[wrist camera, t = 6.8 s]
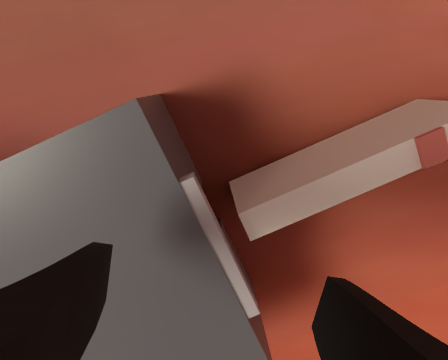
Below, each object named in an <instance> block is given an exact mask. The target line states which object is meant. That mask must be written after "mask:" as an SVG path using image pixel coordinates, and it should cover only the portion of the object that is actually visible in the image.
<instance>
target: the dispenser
mask: <svg viewBox="0 0 448 360" xmlns="http://www.w3.org/2000/svg"><path fill="white" fill-rule="evenodd" d="M92 242H98V243H105V244H112V245H113V249H112V257H111V265H110V273H109V281H108V289H107V297H106V302H105V305H104V308H103V311H102V313H101V316H100V319H99V322H98V324H97V327H96V330H95V332H94V334H93V336H92V338H91V340H90V342H89V344H88V346H87V348H86V350H85V352H84V354H83V356H82V357H81V359H80V360H272V358H271V354H270V350H269V346H268V342H267V338H266V334H265V330H264V326H263V322H262V318H261V315H260V311H259V307H258V303H257V299H256V295H255V291H254V288H253V286H252V284H251V282H250V279H249V277H248V275H247V273H246V271H245V269H244V267H243V265H242V263H241V261H240V259H239V257H238V255H237V252H236V250H235V248H234V246H233V244H232V242H231V240H230V238H229V236H228V234H227V232H226V230H225V228H224V225H223V223H222V221H221V220H218V221H217V219H216V217H215V215H214V212H213V210H212V208H211V206H210V204H209V202H208V200H207V198H206V196H205V194H204V192H203V190H202V180H201V178H200V176H199V174H198V172H197V169H196V167H195V165H194V163H193V161H192V159H191V157H190V155H189V153H188V151H187V149H186V147H185V145H184V142H183V140H182V138H181V136H180V134H179V132H178V130H177V128H176V126H175V124H174V122H173V120H172V118H171V115H170V113H169V111H168V109H167V107H166V105H165V103H164V101H163V99H162V97H161V95H160V94H157V95H152V96H147V97H141V98H136V99H134V100H132V101H130V102H127V103H125V104H123V105H121V106H119V107H117V108H114V109H112V110H110V111H108V112H106V113H104V114H102V115H99V116H97V117H95V118H93V119H91V120H89V121H86V122H84V123H82V124H80V125H78V126H76V127H73V128H71V129H69V130H67V131H65V132H63V133H61V134H58V135H56V136H54V137H52V138H50V139H48V140H45V141H43V142H41V143H39V144H37V145H35V146H32V147H30V148H28V149H26V150H24V151H22V152H20V153H17V154H15V155H13V156H11V157H9V158H7V159H4V160H2V161H0V289H1V288H3V287H6V286H8V285H10V284H13V283H15V282H17V281H19V280H21V279H23V278H25V277H28V276H30V275H32V274H34V273H36V272H38V271H40V270H42V269H44V268H46V267H48V266H50V265H52V264H54V263H56V262H57V261H59V260H61V259H63V258H65V257H67V256H68V255H70V254H72V253H74V252H75V251H77V250H79V249H81V248H83V247H84V246H86V245H88V244H90V243H92Z"/></svg>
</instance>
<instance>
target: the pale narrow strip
mask: <svg viewBox="0 0 448 360" xmlns="http://www.w3.org/2000/svg"><path fill="white" fill-rule="evenodd" d="M447 160H448V101H442V100H426V99H416V100H414V101H411V102H409V103H407V104H404V105H402V106H400V107H398V108H395V109H393V110H391V111H389V112H386V113H384V114H382V115H379V116H377V117H375V118H373V119H370V120H368V121H366V122H364V123H361V124H359V125H357V126H354V127H352V128H350V129H348V130H345V131H343V132H341V133H339V134H336V135H334V136H332V137H329V138H327V139H325V140H323V141H320V142H318V143H316V144H314V145H311V146H309V147H307V148H304V149H302V150H300V151H298V152H295V153H293V154H291V155H289V156H286V157H284V158H282V159H279V160H277V161H275V162H273V163H270V164H268V165H266V166H264V167H261V168H259V169H257V170H254V171H252V172H250V173H248V174H245V175H243V176H241V177H239V178H236V179H234V180H232V181H229V184H230V188H231V191H232V195H233V199H234V202H235V206H236V210H237V213H238V216H239V218H240V220H241V222H242V224H243V227H244V229H245V231H246V233H247V235H248V237H249V240H250V241H253V240H255V239H257V238H260V237H262V236H264V235H267V234H269V233H271V232H274V231H276V230H278V229H281V228H283V227H285V226H288V225H290V224H292V223H295V222H297V221H299V220H302V219H304V218H307V217H309V216H311V215H314V214H316V213H318V212H321V211H323V210H325V209H328V208H330V207H332V206H335V205H337V204H339V203H342V202H344V201H346V200H349V199H351V198H353V197H356V196H358V195H360V194H363V193H365V192H367V191H370V190H372V189H374V188H377V187H379V186H381V185H384V184H386V183H388V182H391V181H393V180H395V179H398V178H400V177H402V176H405V175H407V174H409V173H412V172H414V171H416V170H419V169H421V168H423V169H428V168H430V167H433V166H435V165H437V164H440V163H442V162H444V161H447Z"/></svg>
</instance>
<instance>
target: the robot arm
mask: <svg viewBox="0 0 448 360" xmlns="http://www.w3.org/2000/svg"><path fill="white" fill-rule="evenodd" d="M112 249H113V245H112V244H105V243H98V242H92V243H90V244H88V245H86V246H84V247H83V248H81V249H79V250H77V251H75V252H74V253H72V254H70V255H68V256H67V257H65V258H63V259H61V260H59V261H57V262H56V263H54V264H52V265H50V266H48V267H46V268H44V269H42V270H40V271H38V272H36V273H34V274H32V275H30V276H28V277H25V278H23V279H21V280H19V281H17V282H15V283H13V284H10V285H8V286H6V287H3V288H1V289H0V360H80V359H81V357H82V356H83V354H84V352H85V350H86V348H87V346H88V344H89V342H90V340H91V338H92V336H93V334H94V332H95V330H96V327H97V324H98V322H99V319H100V316H101V313H102V311H103V308H104V305H105V302H106V297H107V289H108V281H109V273H110V265H111V257H112ZM312 330H313V334H314V338H315V342H316V345H317V349H318V352H319V355H320V358H321V360H448V345H447V344H445V343H443V342H441V341H440V340H438V339H436V338H435V337H433V336H432V335H430V334H429V333H427V332H425V331H424V330H422V329H421V328H419V327H417V326H416V325H414V324H413V323H411V322H410V321H408V320H407V319H405V318H404V317H402V316H401V315H399V314H398V313H396V312H395V311H393V310H392V309H391V308H389V307H388V306H386V305H385V304H383V303H382V302H380V301H379V300H377V299H376V298H375V297H373V296H372V295H370V294H369V293H367V292H366V291H364V290H363V289H361V288H360V287H358V286H356V285H355V284H353V283H351V282H350V281H348V280H346V279H343V278H336V277H329V276H327V279H326V283H325V286H324V289H323V292H322V295H321V298H320V302H319V305H318V308H317V311H316V314H315V317H314V321H313V324H312Z"/></svg>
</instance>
